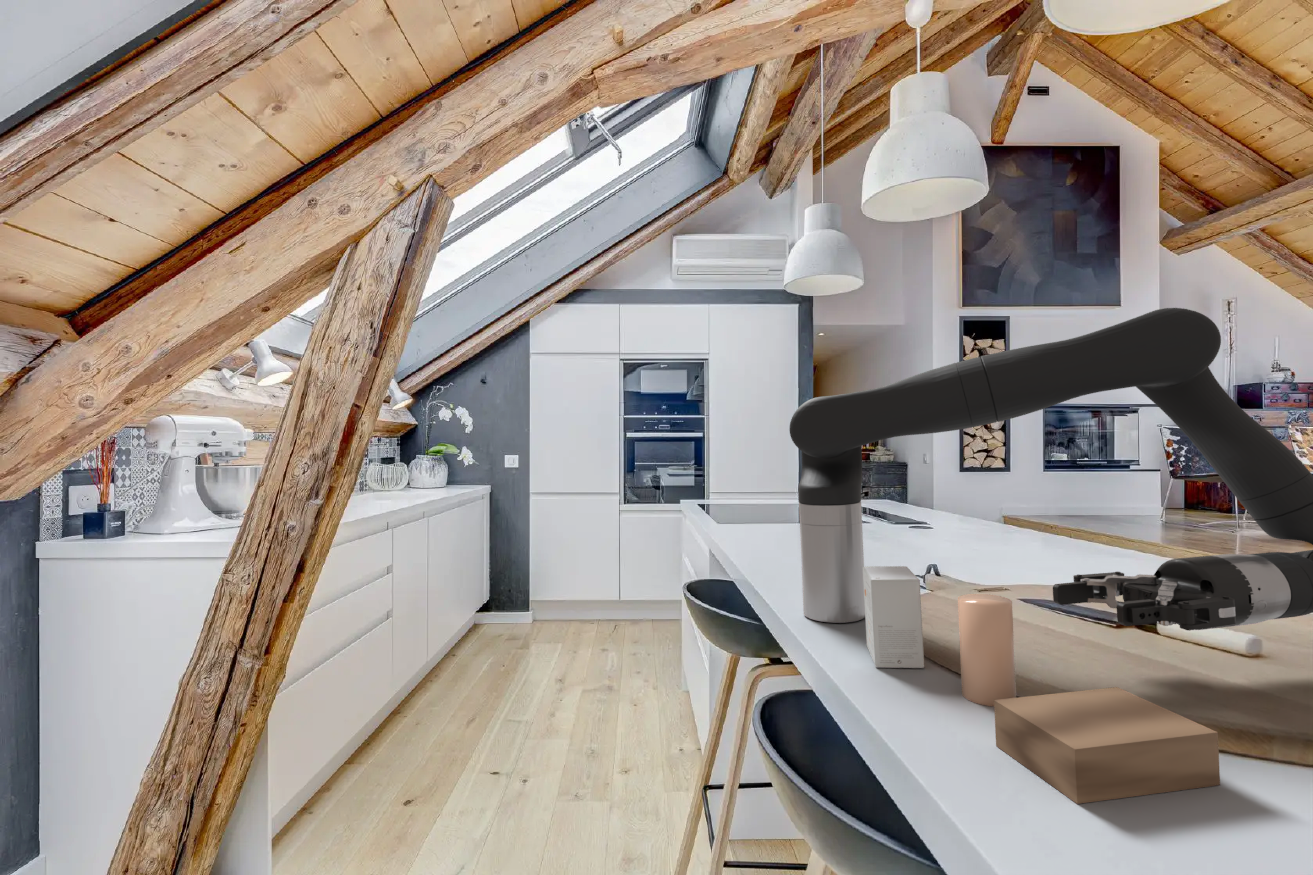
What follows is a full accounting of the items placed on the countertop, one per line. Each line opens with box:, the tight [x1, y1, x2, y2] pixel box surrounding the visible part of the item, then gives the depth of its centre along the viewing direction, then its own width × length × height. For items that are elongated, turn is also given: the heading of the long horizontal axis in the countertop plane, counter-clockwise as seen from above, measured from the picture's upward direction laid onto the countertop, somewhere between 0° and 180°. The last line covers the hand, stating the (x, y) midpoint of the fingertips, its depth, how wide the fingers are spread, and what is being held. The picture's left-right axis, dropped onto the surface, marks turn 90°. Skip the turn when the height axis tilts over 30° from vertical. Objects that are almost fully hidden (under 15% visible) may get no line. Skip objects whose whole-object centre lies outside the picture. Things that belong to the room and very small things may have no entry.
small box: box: [863, 565, 925, 669], centre depth 78 cm, size 8×6×10 cm
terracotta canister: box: [957, 593, 1017, 707], centre depth 66 cm, size 5×5×10 cm
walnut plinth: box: [993, 686, 1221, 805], centre depth 52 cm, size 9×12×4 cm
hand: (1085, 604), depth 67 cm, fingers open, 8 cm apart
